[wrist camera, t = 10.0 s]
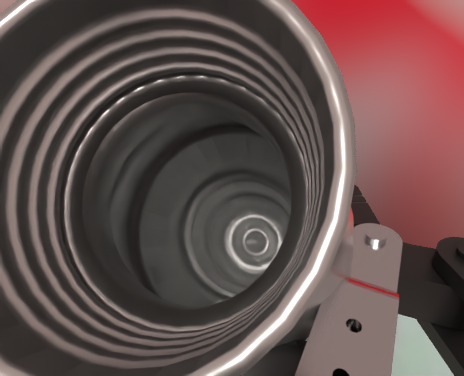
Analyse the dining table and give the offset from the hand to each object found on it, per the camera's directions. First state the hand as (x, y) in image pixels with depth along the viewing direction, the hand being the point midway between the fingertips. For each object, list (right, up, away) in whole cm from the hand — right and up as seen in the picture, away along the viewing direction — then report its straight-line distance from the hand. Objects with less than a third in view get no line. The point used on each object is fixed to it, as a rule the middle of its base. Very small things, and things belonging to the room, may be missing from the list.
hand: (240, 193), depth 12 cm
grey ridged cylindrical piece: (+2, -4, +10) cm, 11 cm away
